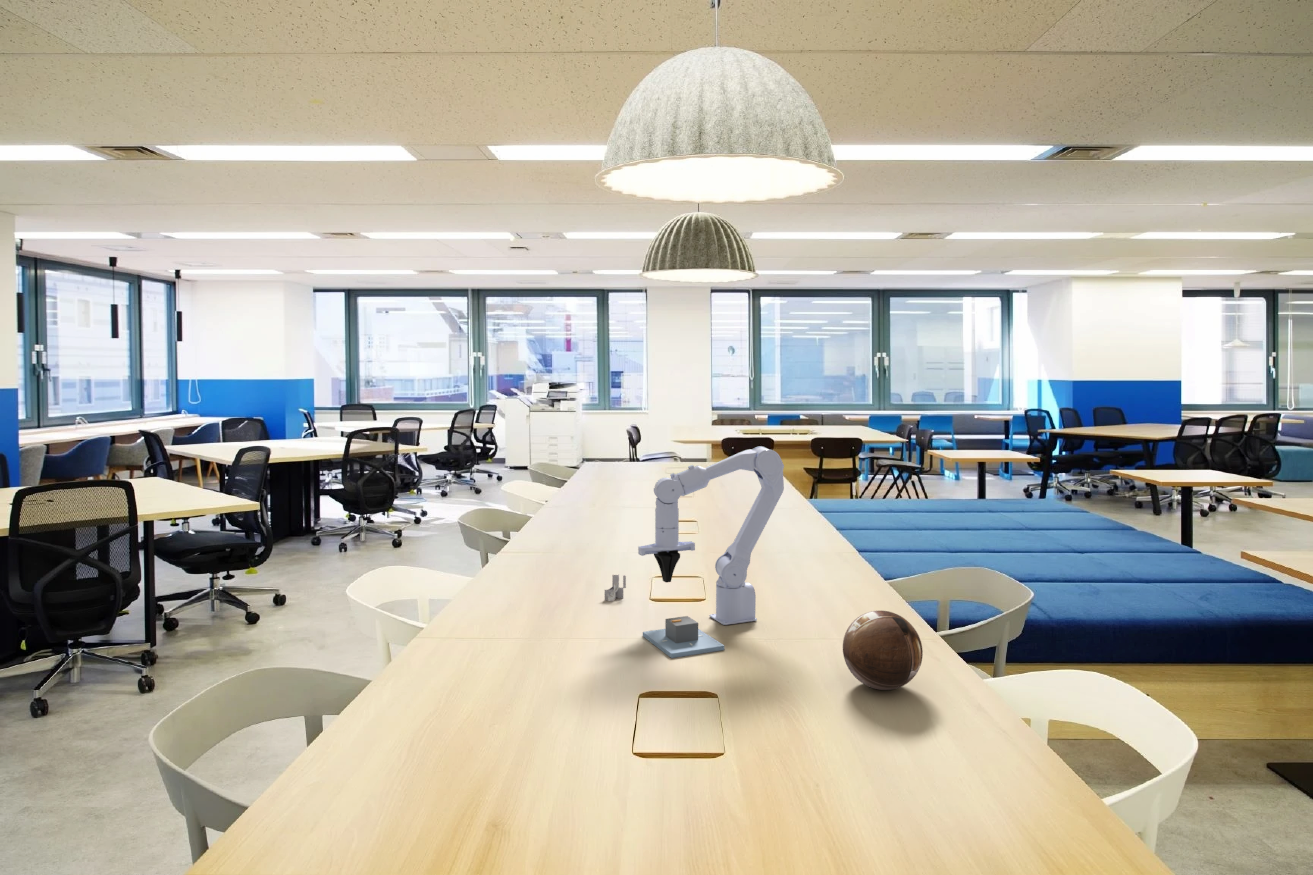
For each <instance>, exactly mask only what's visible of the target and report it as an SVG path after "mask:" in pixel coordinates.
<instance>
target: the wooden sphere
mask: <svg viewBox="0 0 1313 875" xmlns="http://www.w3.org/2000/svg"><path fill="white" fill-rule="evenodd" d="M842 655H843V658H844V662H845V664H846V666H847V669H848V670H849V671H850V673H851V674H852V675H853V677H854V678H856V680H858V681H859V682H860V683H862V684H863V685H864V686H866V687H869V688H870V689H874V690H878V691H879V690H880V691H891V690H896V689H900V688H901V687H903V686H906V685H907V684H908V683H910V682H911V681H912V680H913V679H914V677H915V676H916V675H917V674H918V672H919V670H920V668H921V665H922V662H923V655H924V654H923V644H922V640H921V638H920V635H919V633H918V631H917V630H916V628H915V627H914V626H913V625H912V624H911V623H910V622H909V620H907V619H906V618H904V617H903V616H901V615H899V614H897V613H894V612H892V611H887V610H873V611H872V610H871V611H868V612H865V613H863V614H861V615H860V616H857V618H856V619H854V620H852V622H851V623H850V625H849V626H848V628H847V630H846V631H845V634H844V636H843V640H842Z"/></svg>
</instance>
